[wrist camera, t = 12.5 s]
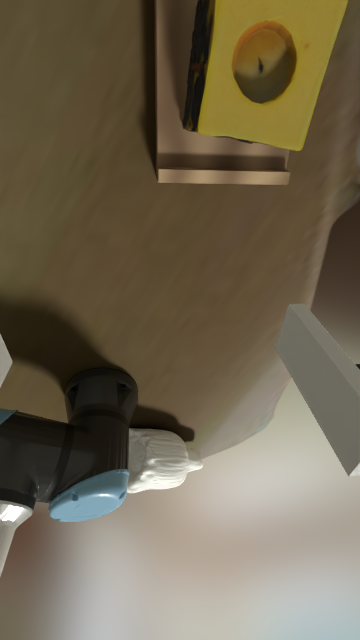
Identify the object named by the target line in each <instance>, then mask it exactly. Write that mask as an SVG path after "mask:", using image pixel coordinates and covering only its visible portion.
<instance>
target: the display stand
mask: <svg viewBox="0 0 360 640" xmlns="http://www.w3.org/2000/svg"><path fill="white" fill-rule="evenodd" d="M197 1H198V0H154V7H155V113H156V177H157V181H158V182H159V183H213V184H271V185H288V181H289V177H290V173H291V172H289V171H287V170H285V169H286V165H287V160H288V156H289V152H290V149H285V148H279V147H275V146H271V145H266V144H261V143H252V144H249V143H245V142H240V141H238V140H235V139H231V138H217V137H213V136H204V135H201V134H199V133H196V132H190V131H187V130H186V129H183V126H182V120H183V118H184V112H185V101H186V97H187V87H188V85H187V80H188V70H189V64H190V56H191V49H192V33H193V30H194V22H195V15H196V7H197Z"/></svg>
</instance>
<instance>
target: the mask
mask: <svg viewBox="0 0 360 640" xmlns="http://www.w3.org/2000/svg"><path fill="white" fill-rule="evenodd" d="M202 467H203V458H202V454H201V452H200V451H197V450H194V449H192V448H189V447H187V446H186V445H185V443H184V441H183V440H182V439H181V438H180V437H179V436H178V435H177V434H175V433H173V432H170V431H166V430H156V429H134V428H129V477H128V486H127V492H128V493H136V492H139V491H143V490H146V489H168V488H173V487H177V486H179V485H180V484H182V483H183V481H184V480H185V478H186V475H187V473H188V472H190V471H194V470H198V469H201V468H202Z"/></svg>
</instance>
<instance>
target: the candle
mask: <svg viewBox="0 0 360 640" xmlns="http://www.w3.org/2000/svg"><path fill="white" fill-rule="evenodd" d="M347 3H348V0H198V1H197V7H196V15H195V22H194V30H193V33H192V49H191V56H190V64H189V70H188V80H187V85H188V87H187V97H186V101H185V112H184V118H183V120H182V126H183V129H186V130H187V131H190V132H196V133H199V134H201V135H204V136H213V137H217V138H231V139H235V140H238V141H240V142H245V143H249V144H252V143H261V144H266V145H271V146H275V147H279V148H285V149H290V150H295V151H300V150H301V149H302V147H303V144H304V141H305V138H306V135H307V131H308V127H309V124H310V121H311V118H312V114H313V111H314V108H315V104H316V101H317V97H318V94H319V90H320V87H321V84H322V81H323V77H324V74H325V71H326V68H327V65H328V61H329V58H330V55H331V52H332V49H333V46H334V43H335V40H336V36H337V33H338V30H339V27H340V25H341V22H342V19H343V16H344V13H345V10H346V6H347Z"/></svg>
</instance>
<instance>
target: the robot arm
mask: <svg viewBox="0 0 360 640" xmlns="http://www.w3.org/2000/svg"><path fill="white" fill-rule="evenodd" d="M275 348H276V350H277V352H278V354H279V355H280V357H281V359H282V361H283V362H284V364H285V366H286V368H287V369H288V371H289V373H290V375H291V376H292V378H293V380H294V382H295V383H296V385H297V387H298V389H299V390H300V392H301V394H302V395H303V397H304V399H305V401H306V403H307V404H308V406H309V408H310V410H311V411H312V413H313V415H314V417H315V418H316V420H317V422H318V424H319V425H320V427H321V429H322V431H323V432H324V434H325V436H326V438H327V439H328V441H329V443H330V445H331V446H332V448H333V450H334V452H335V453H336V455H337V457H338V459H339V460H340V462H341V464H342V466H343V467H344V469H345V471H346V472H347V474H348V476H356V475H360V364H354V363H353V361H352V360H351V359H350V358H349V356H348V355H347V354H346V353H345V352H344V350H342V348H341V347H340V346H339V345H338V343H337V342H336V341H335V340H334V339H333V338H332V336H331V335H330V334H329V333H328V332H327V330H326V329H325V328H324V327H323V326H322V324H321V323H320V322H319V321H318V320H317V319H316V317H315V316H314V315H313V314H312V313H311V311H310V310H309V309H308V308H307V307H306V305H305V304H289V305H288V308H287V312H286V315H285V318H284V321H283V324H282V327H281V330H280V333H279V336H278V340H277V343H276V346H275ZM11 364H12V359H11V357H10V355H9V352H8V350H7V348H6V346H5V343H4V341H3V339H2V336H1V334H0V387H1V385H2V383H3V381H4V379H5V377H6V375H7V373H8V371H9V368H10V366H11ZM137 402H138V387H137V385H136V383H135V381H134V380H133V379H132V378H131V377H130V376H128V375H127V374H125V373H123V372H121V371H118V370H114V369H108V368H96V369H90V370H86V371H83V372H81V373H79V374H77V375H76V376H74V377H73V378H72V379H71V380H70V381H69V383H68V385H67V389H66V393H65V405H66V411H67V418H68V424H67V423H64V422H59V421H55V420H51V419H47V418H43V417H39V416H35V415H31V414H27V413H22V412H18V410H7V409H1V408H0V577H1V573H2V570H3V567H4V564H5V560H6V557H7V554H8V551H9V547H10V545H11V541H12V538H13V535H14V532H15V529H16V528H17V527H18V526H19V525H20V524H21V523H22V522H23V521H25V520H26V519H27V518H28V517H30V516H31V515H32V512H33V509H34V505H35V502H45V503H50V504H49V507H48V510H49V515H50V516H51V517H52V518H53V519H57V520H58V521H63V522H76V521H84V520H89V519H93V518H97V517H100V516H103V515H105V514H107V513H110V512H111V511H113V510H115V509H116V508H117V507H119V506H120V505H121V504H122V503H123V501H124V500H125V497H126V494H127V486H128V477H129V423H130V421H131V418H132V416H133V413H134V410H135V408H136V405H137Z"/></svg>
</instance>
